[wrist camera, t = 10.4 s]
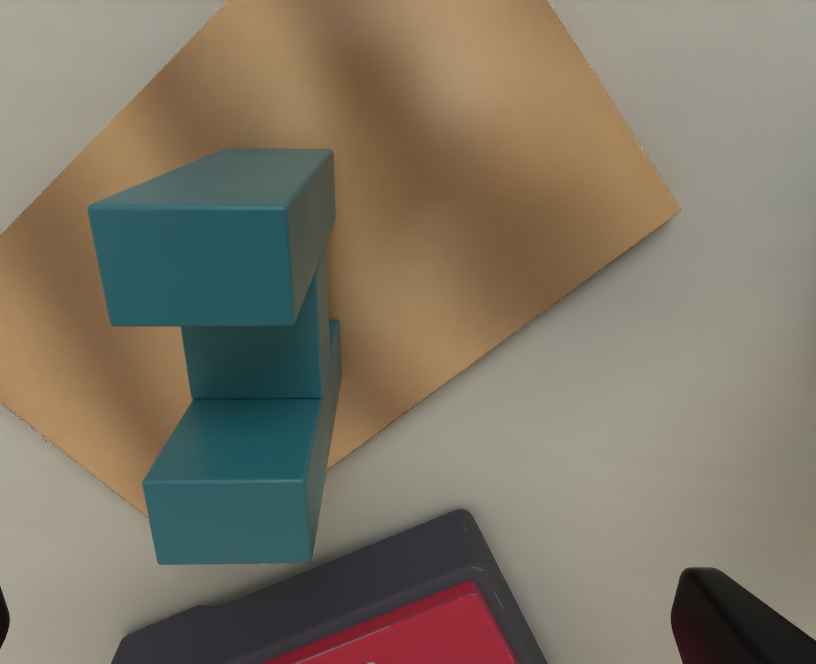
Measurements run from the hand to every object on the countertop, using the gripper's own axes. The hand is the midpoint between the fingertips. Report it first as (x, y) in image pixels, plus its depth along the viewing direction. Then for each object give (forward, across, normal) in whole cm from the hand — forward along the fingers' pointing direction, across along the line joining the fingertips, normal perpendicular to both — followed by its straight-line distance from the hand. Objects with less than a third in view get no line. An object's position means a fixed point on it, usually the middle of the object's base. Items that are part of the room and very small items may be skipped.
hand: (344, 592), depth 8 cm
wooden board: (+12, +3, -1) cm, 12 cm away
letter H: (+11, +2, -1) cm, 11 cm away
